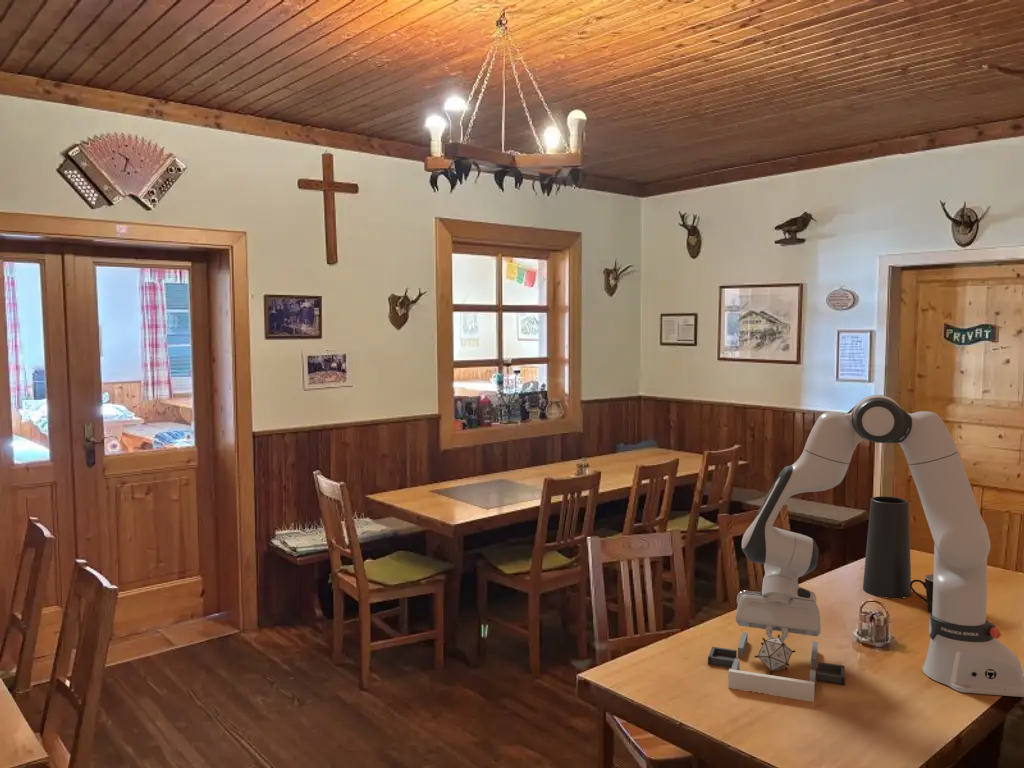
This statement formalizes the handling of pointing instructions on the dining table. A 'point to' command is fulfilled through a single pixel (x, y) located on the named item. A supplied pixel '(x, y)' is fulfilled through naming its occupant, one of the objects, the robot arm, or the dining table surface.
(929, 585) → the coffee mug
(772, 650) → the game die
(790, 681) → the trap lane
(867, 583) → the vase
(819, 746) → the dining table surface
